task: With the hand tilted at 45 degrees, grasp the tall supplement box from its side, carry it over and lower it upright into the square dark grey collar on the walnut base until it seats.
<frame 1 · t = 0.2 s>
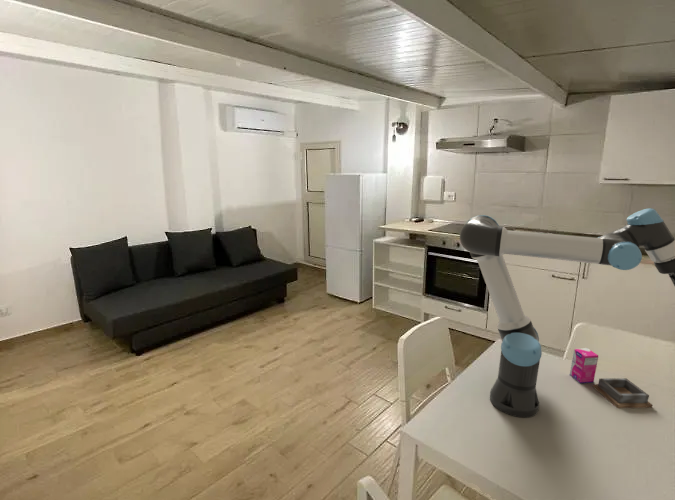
supplement box: (581, 379, 143), on the table
socket: (621, 396, 133), on the table
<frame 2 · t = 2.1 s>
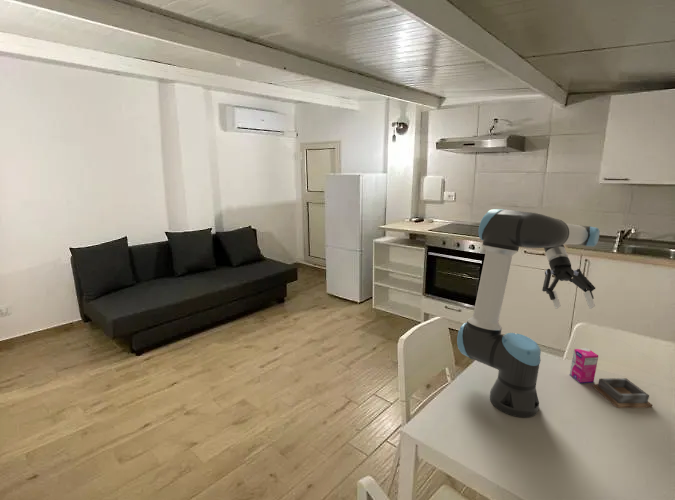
hand: (575, 307, 147), 25 cm above the table, tool tilted 45°, fingers open, 13 cm apart
nothing on the table moved.
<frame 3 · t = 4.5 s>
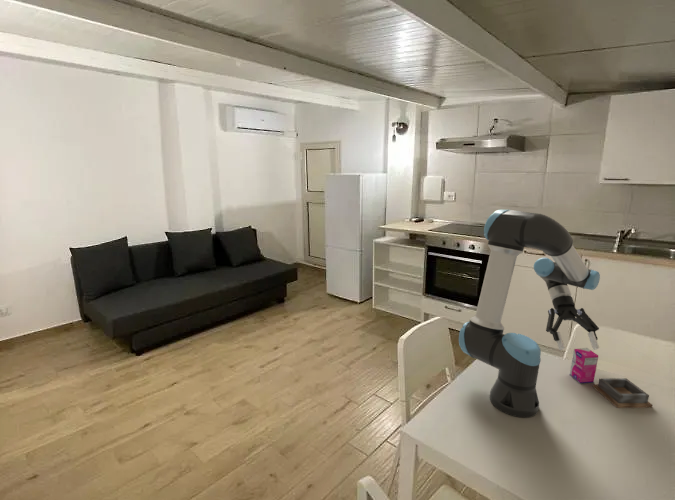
hand: (579, 349, 146), 10 cm above the table, tool tilted 45°, fingers open, 13 cm apart
nothing on the table moved.
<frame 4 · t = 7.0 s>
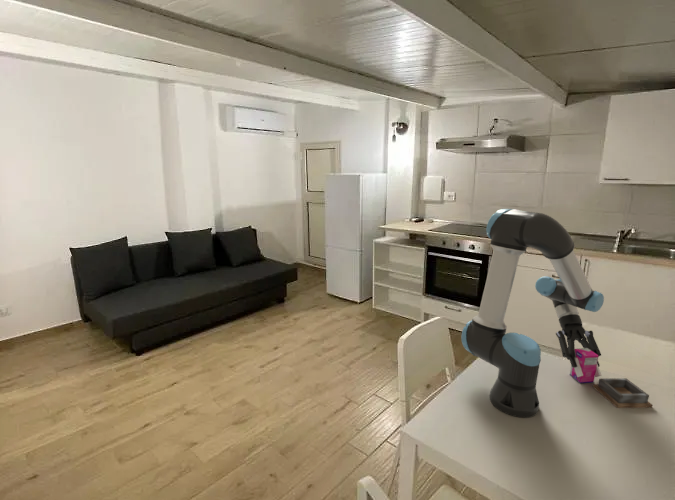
hand: (589, 376, 139), 3 cm above the table, tool tilted 45°, fingers closed on supplement box, 6 cm apart
supplement box: (581, 379, 143), on the table, touching gripper
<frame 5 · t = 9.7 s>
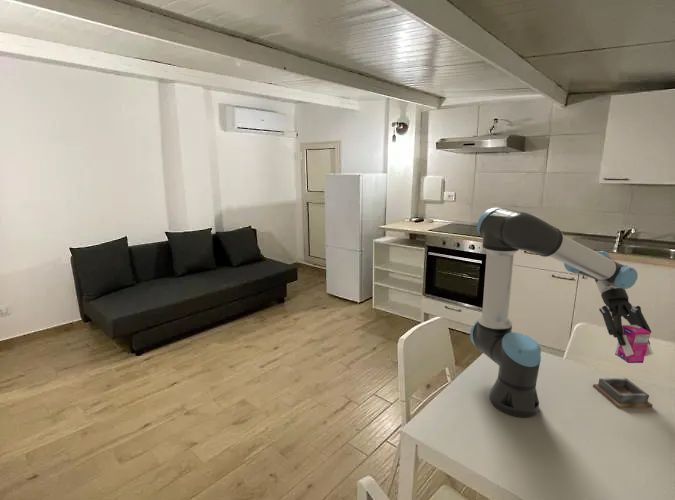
hand: (639, 355, 125), 18 cm above the table, tool tilted 45°, fingers closed on supplement box, 6 cm apart
supplement box: (628, 359, 130), point 14 cm above the table, touching gripper
when the fingers open (6 cm above the table, at t = 12.6 s): supplement box drops 1 cm, resting on socket.
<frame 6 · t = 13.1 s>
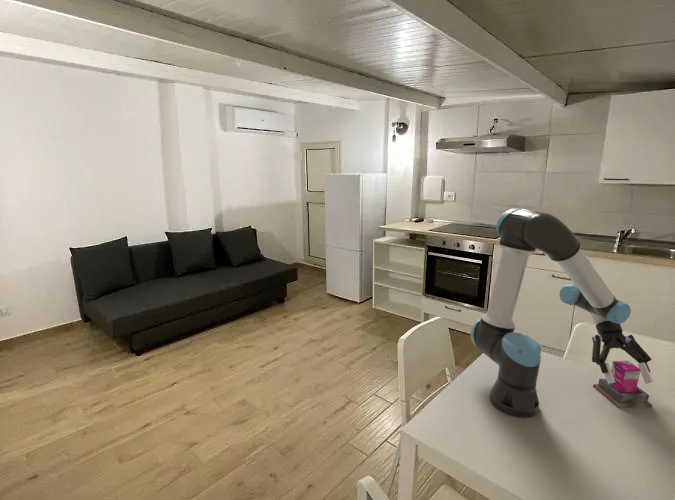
hand: (630, 383, 129), 7 cm above the table, tool tilted 45°, fingers open, 12 cm apart
supplement box: (620, 394, 133), point 1 cm above the table, touching socket
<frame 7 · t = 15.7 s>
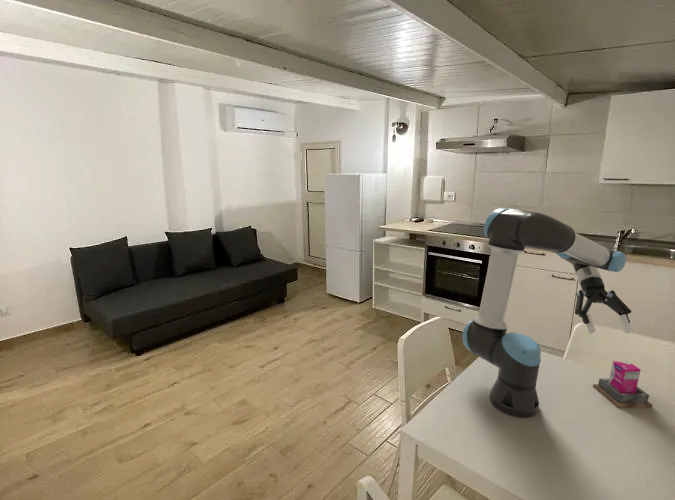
hand: (610, 332, 138), 20 cm above the table, tool tilted 45°, fingers open, 13 cm apart
nothing on the table moved.
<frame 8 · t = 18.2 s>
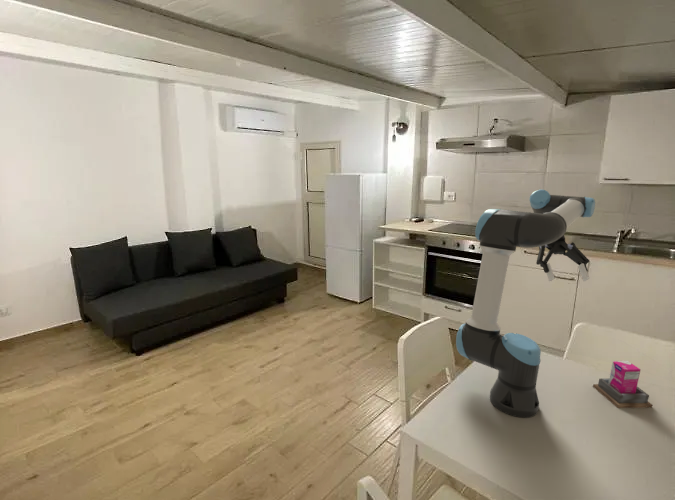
hand: (569, 279, 146), 36 cm above the table, tool tilted 45°, fingers open, 13 cm apart
nothing on the table moved.
at the end: supplement box 0.4 cm off-centre on the socket, point 0.8 cm above the socket's base; supplement box tilted 0°; the gripper is holding nothing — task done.
